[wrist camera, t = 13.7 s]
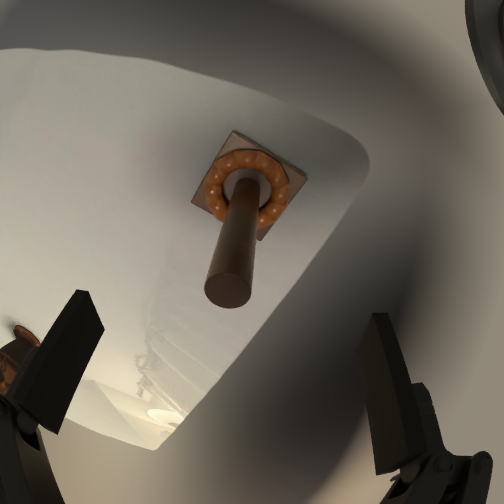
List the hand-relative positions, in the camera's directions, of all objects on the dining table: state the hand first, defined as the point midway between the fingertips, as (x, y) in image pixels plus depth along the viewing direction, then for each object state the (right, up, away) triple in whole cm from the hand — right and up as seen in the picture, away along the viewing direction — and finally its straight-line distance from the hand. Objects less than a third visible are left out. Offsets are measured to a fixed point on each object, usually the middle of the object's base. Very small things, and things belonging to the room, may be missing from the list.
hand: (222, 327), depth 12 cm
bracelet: (+1, +9, +13) cm, 16 cm away
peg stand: (+1, +10, +15) cm, 18 cm away
